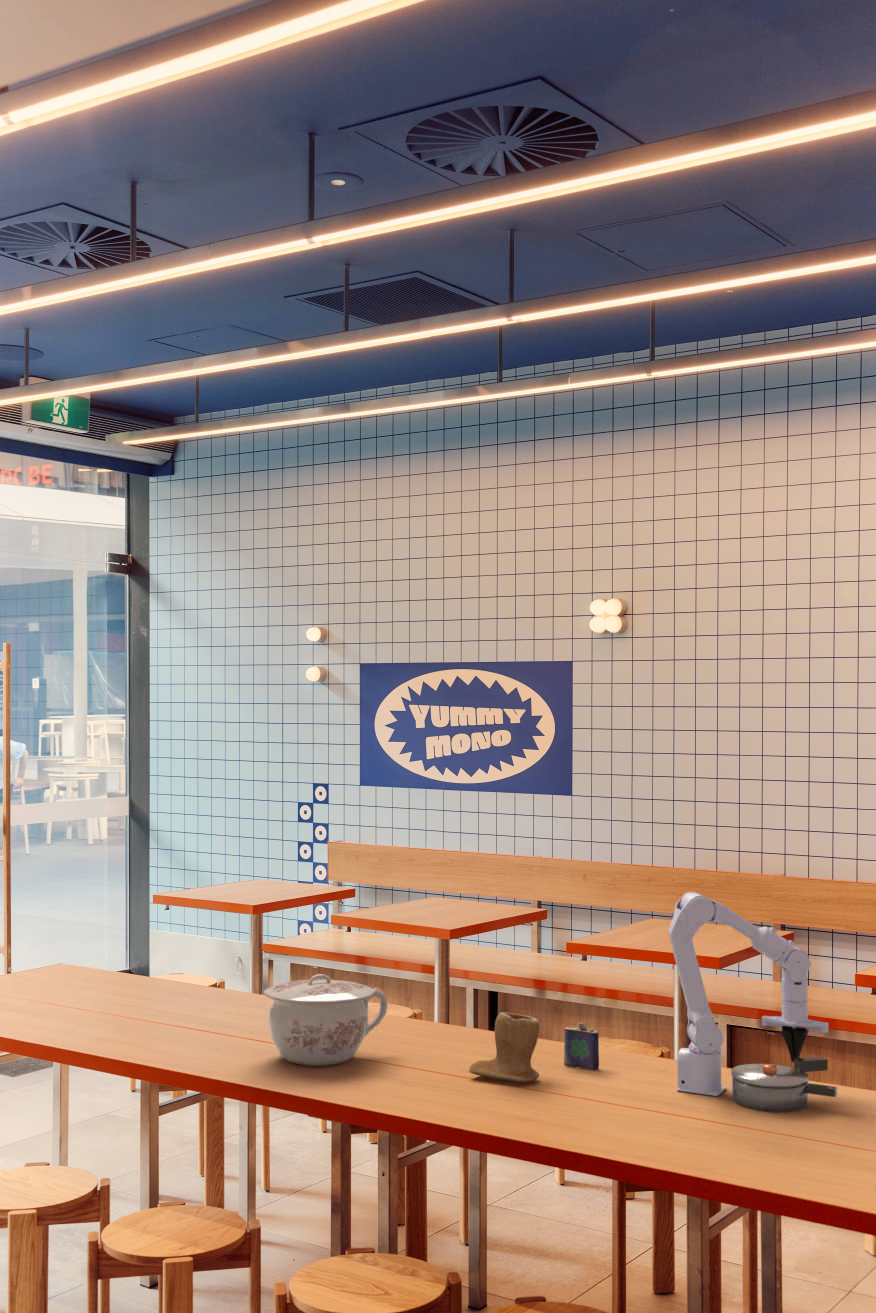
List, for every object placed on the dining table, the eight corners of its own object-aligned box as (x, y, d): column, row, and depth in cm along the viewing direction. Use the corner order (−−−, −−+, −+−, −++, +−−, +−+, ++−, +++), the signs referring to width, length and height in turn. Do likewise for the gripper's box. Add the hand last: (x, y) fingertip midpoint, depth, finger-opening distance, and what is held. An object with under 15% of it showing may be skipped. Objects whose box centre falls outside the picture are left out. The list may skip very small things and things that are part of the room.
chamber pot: (242, 1068, 291) (244, 979, 293) (289, 1043, 317) (291, 962, 319) (352, 1078, 283) (353, 987, 284) (390, 1052, 309) (392, 969, 311)
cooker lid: (757, 1089, 258) (757, 1073, 258) (717, 1070, 273) (717, 1055, 273) (847, 1083, 264) (846, 1066, 264) (803, 1064, 280) (802, 1049, 280)
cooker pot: (724, 1105, 264) (724, 1081, 264) (742, 1088, 278) (742, 1066, 278) (829, 1120, 254) (829, 1095, 254) (842, 1102, 268) (842, 1078, 268)
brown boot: (548, 1077, 286) (549, 1012, 287) (525, 1089, 275) (526, 1021, 277) (491, 1068, 293) (492, 1005, 295) (467, 1079, 283) (468, 1013, 285)
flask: (562, 1065, 298) (562, 1020, 299) (568, 1063, 300) (568, 1018, 301) (596, 1071, 292) (596, 1025, 293) (601, 1069, 295) (601, 1023, 296)
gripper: (758, 999, 278) (758, 1060, 277) (823, 1006, 271) (824, 1069, 270) (766, 994, 284) (766, 1054, 283) (830, 1001, 277) (830, 1062, 276)
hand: (795, 1061), depth 277 cm, fingers closed
